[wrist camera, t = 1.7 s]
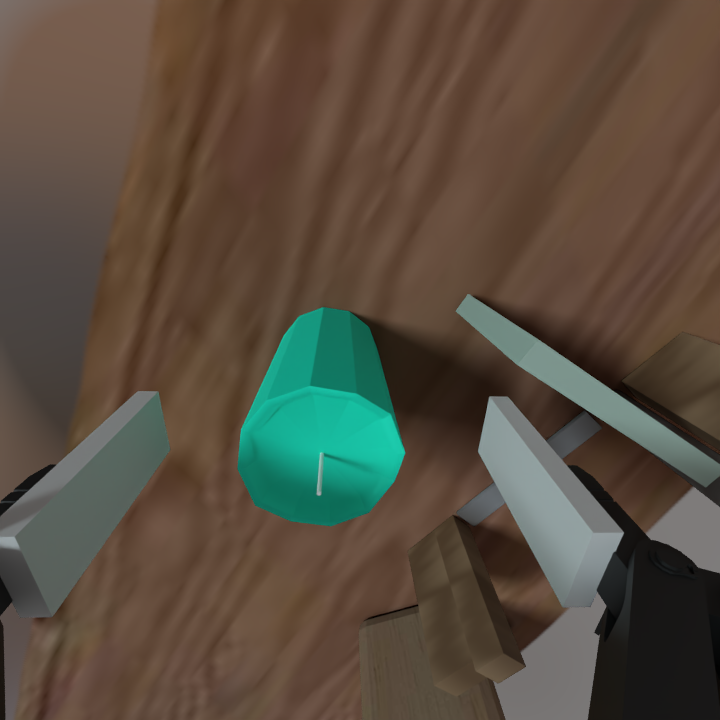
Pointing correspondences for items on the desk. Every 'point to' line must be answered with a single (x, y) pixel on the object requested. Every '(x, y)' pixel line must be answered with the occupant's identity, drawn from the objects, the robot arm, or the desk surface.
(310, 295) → the desk surface
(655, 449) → the sage green plank
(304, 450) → the candle
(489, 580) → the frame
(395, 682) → the wooden block
